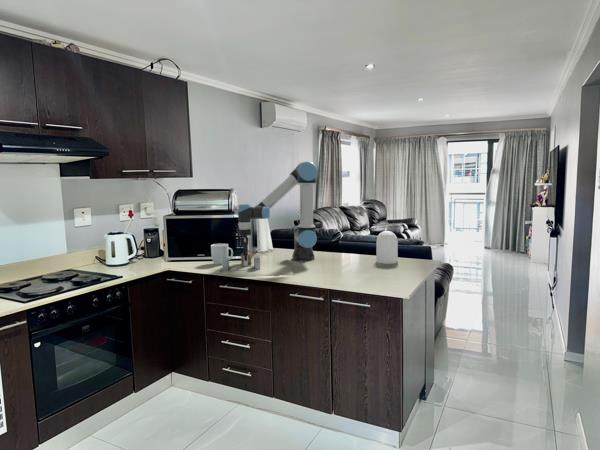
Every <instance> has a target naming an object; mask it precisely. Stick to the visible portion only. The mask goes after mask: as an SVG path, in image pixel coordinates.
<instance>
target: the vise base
mask: <svg viewBox="0 0 600 450" xmlns="http://www.w3.org/2000/svg"><path fill="white" fill-rule="evenodd" d="M244 267H245V268H246V267H248V268H249V267H252V265H248V266H244V265H240V266H237V268H244ZM260 270H261V268H260V269H255V268H253V269H252V271H260ZM238 271H239V272H240V271H242V272H244V271H246V269H235V270H232V269H231V270H230V272H238ZM218 272H219V273H221V274H222V273H224V271H223V267H220V269H219V271H218Z"/></svg>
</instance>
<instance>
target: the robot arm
mask: <svg viewBox="0 0 600 450" xmlns="http://www.w3.org/2000/svg"><path fill="white" fill-rule="evenodd" d="M317 176H318V168H317V166H316V164H315V163H313V162H311V161H303V162H300V163H299V164H297V166H296V167H295V168H294V169H293V170H292V171H291V172H290V173H289V176H288V177H287V178H286V179H285V180H283V181H282V182H281V183H280V184H279V185H278V186H277V187H275V189H273V190H272V191H271V192H270V193H269V194H268V195H267V196H266V197H265V198H264V199H262V200H261V201H260V202H259V203H258V204H257V205H255V206H254V207H253V206H251V204H250V203H241V204H238V206H237V216H238V218H237V219H238V223H237V225H238V235H239V236H240V237H241V236H242V238H241V242H242V248H243V252H242V253H243V254H242V255H243V260H244V265H243V266H249V265H248V253H250V250H249V247H248V246H249V237H248V236H251V235H252V229H251V228H252V220H260V219H261V220H266V219H267V220H268V219H270V216H271V212H270V210H271V209H272V208H273V207H274V206H275V205H276V204H277V203H278V202H280V201H281V200H282V199H283V198H284V197H286V196H287V194H288V193H290V192H291V191H292V190H293V189H294V188H295V187H297V186H299V224H298V225H294V227H293V228H294V229H293V232H294V233H293V234H294V237H293V238H294V249H293V251H292V255H291V258H292V260H293V261H295V262H296V261H297V262H308V261H309V262H310V261H314V260H315V259H316V257H315V253H314V250H313V247H314V246H315V245H316V243H317V240H318V238H317V234H316V233H317V232H316V225H315V224H314V195H315V194H314V193H315V192H314V188H315V187H314V186H315V185H316V184H317Z"/></svg>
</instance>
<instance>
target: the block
mask: <svg viewBox="0 0 600 450" xmlns="http://www.w3.org/2000/svg"><path fill="white" fill-rule="evenodd" d="M242 254H243V252H242V253H241V254H240V262H241V265H240V266H244V260H243V255H242ZM248 266H252V253H251V252H248Z"/></svg>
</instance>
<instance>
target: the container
mask: <svg viewBox="0 0 600 450" xmlns="http://www.w3.org/2000/svg"><path fill="white" fill-rule="evenodd" d="M375 246H376V249H375V250H376V252H375V253H376V254H375V255H376V263H378V264H385V265H386V264H387V265H389V264H396V263H398V261H399V259H398V258H399V256H398V255H399V252H398V249H399V247H398V246H399V241H398V237H397V235H396V234H395V233H394V232H393V231H391V230H383V231H382V232H380V233H379V234H378V235H377V237H376V245H375Z"/></svg>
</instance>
